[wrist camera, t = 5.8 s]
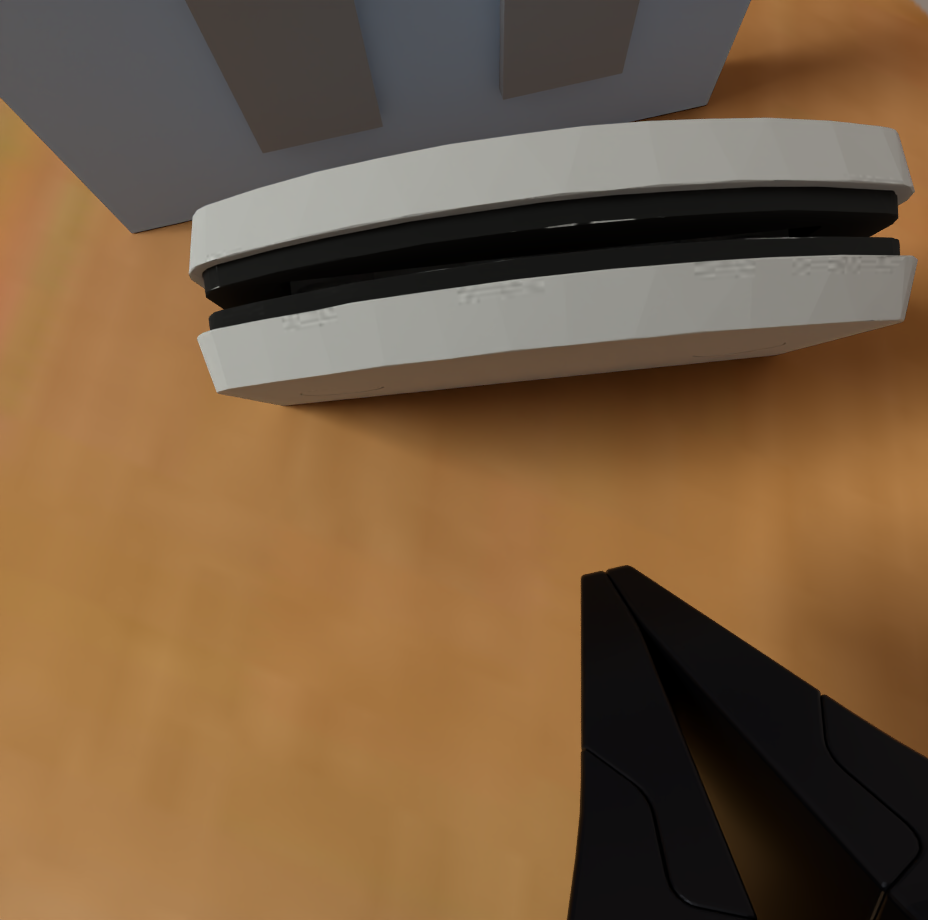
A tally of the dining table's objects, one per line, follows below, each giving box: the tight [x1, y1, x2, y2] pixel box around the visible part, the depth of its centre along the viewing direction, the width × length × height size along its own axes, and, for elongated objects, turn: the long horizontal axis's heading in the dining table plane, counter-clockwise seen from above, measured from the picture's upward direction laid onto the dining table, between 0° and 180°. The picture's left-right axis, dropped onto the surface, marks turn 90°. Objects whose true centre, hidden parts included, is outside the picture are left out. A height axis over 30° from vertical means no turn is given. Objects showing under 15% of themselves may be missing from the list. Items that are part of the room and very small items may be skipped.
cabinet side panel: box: [0, 0, 751, 233], centre depth 15 cm, size 2×22×10 cm, turn 102°
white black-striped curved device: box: [189, 118, 918, 406], centre depth 14 cm, size 17×5×10 cm, turn 95°
